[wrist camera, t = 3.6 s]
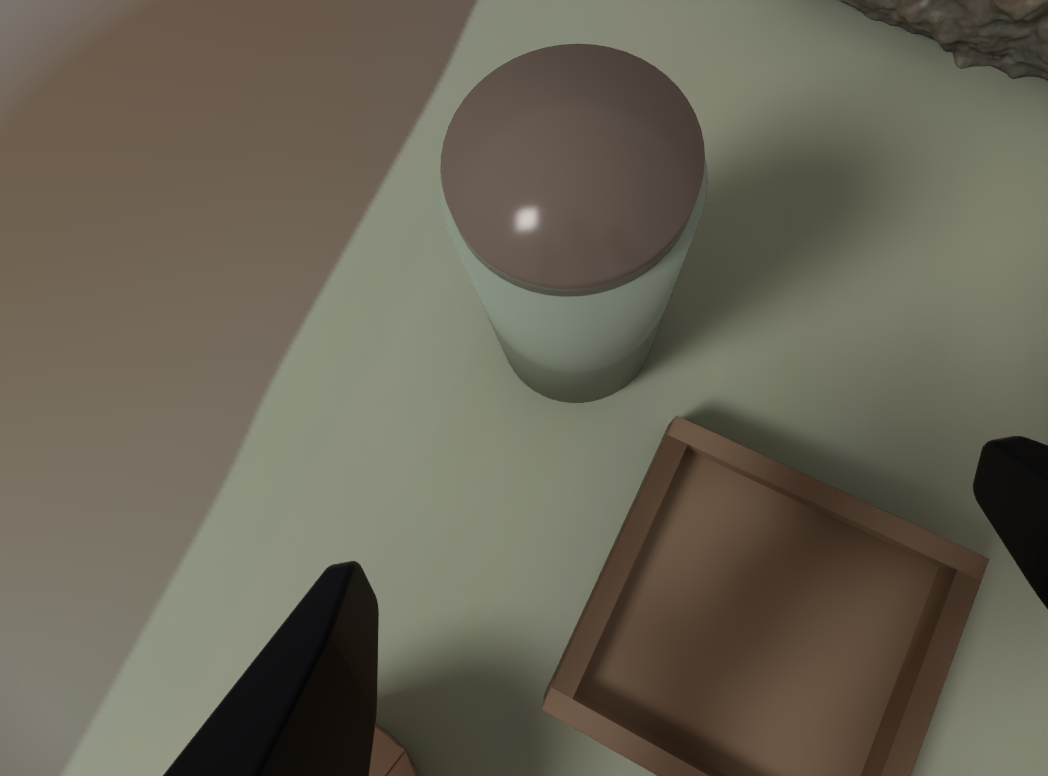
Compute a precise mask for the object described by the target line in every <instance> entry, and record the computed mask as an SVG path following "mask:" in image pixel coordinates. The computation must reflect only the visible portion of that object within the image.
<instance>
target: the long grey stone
mask: <svg viewBox="0 0 1048 776" xmlns="http://www.w3.org/2000/svg"><path fill="white" fill-rule="evenodd" d="M840 1H842V2H844V3H847V4H848V5H850V6H853V7H855V8H856V9H857V10H859V11H862V12H863V14H864V15H865V16H866V17H868V18H870V19H872V20H882V21H884V22H885V23H888V24H889V25H898V26H900V27H902V28H904V29H906V30H907V31H908V32H910V33H912V34H916V33H921V34H923V35H926V36H928V37H929V38H932V39H935V40H936V41H938V42H940V44H941V47H942V48H943V49H944V50H945V51H949V50H951V51H952V53H953V56H954V61H955V64H956V66H957V67H958V68H960V69H963V68H968V67H973V66H992V67H995V68H997V69H999V70H1001V71H1002V72H1005V73H1007V74H1008V76H1009V77H1011V78H1013V79H1014V78H1018V77H1023V76H1040V77H1042V78H1045V79H1048V0H840Z"/></svg>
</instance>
